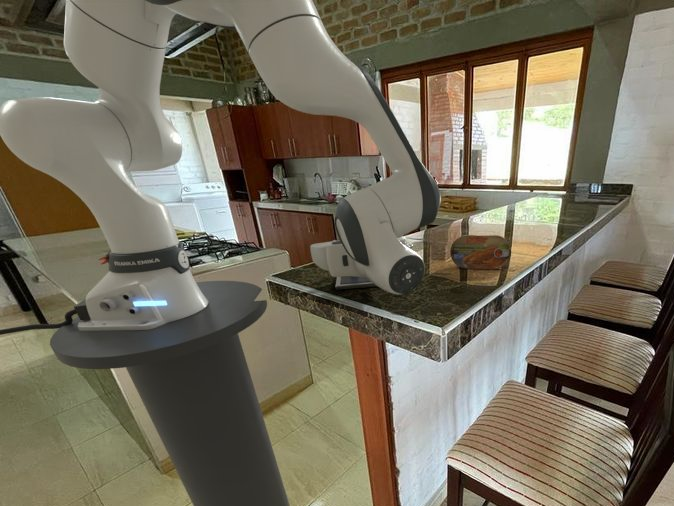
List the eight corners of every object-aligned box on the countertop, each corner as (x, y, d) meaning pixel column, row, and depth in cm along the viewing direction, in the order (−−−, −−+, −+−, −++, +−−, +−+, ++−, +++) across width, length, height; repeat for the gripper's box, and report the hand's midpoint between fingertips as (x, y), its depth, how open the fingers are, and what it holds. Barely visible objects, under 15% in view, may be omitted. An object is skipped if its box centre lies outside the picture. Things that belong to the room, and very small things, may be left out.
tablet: (335, 290, 74) (335, 285, 74) (338, 271, 87) (338, 267, 86) (415, 283, 77) (415, 278, 76) (407, 265, 89) (407, 261, 89)
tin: (449, 268, 86) (450, 235, 83) (451, 264, 89) (452, 232, 86) (509, 270, 83) (512, 236, 79) (509, 266, 86) (512, 234, 82)
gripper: (415, 232, 70) (388, 222, 81) (319, 246, 61) (302, 233, 72) (416, 261, 73) (389, 248, 84) (324, 278, 64) (307, 261, 75)
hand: (348, 241), depth 78 cm, fingers open, 5 cm apart
